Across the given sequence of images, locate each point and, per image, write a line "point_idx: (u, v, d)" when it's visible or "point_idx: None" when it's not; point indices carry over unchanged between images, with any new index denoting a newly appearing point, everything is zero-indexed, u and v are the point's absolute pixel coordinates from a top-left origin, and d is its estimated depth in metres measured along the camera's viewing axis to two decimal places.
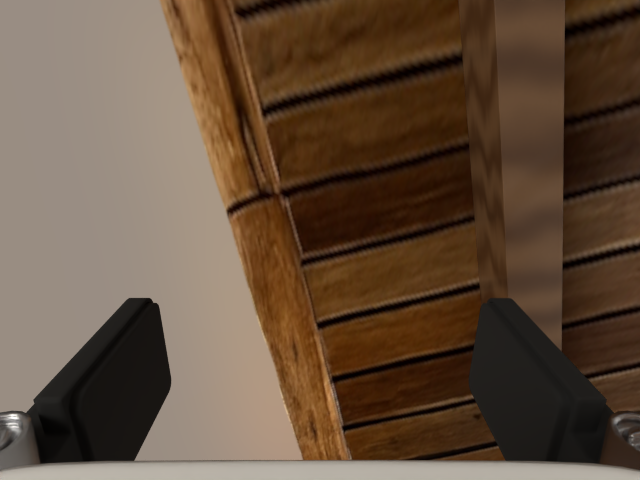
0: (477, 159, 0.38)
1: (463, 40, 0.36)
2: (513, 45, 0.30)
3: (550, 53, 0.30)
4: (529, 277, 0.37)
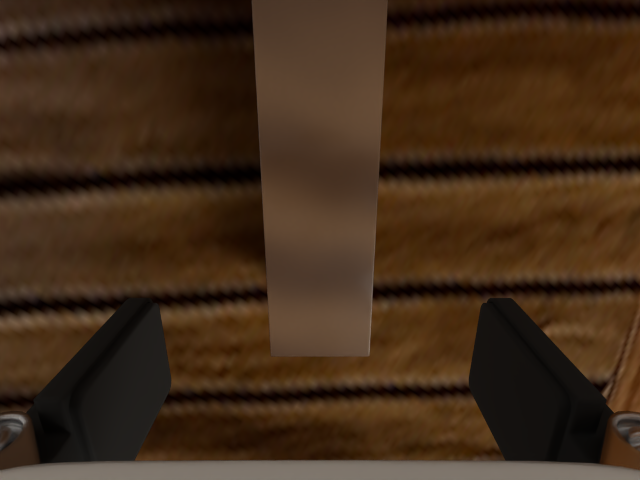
0: None
1: None
2: (349, 204, 0.17)
3: (285, 179, 0.17)
4: None
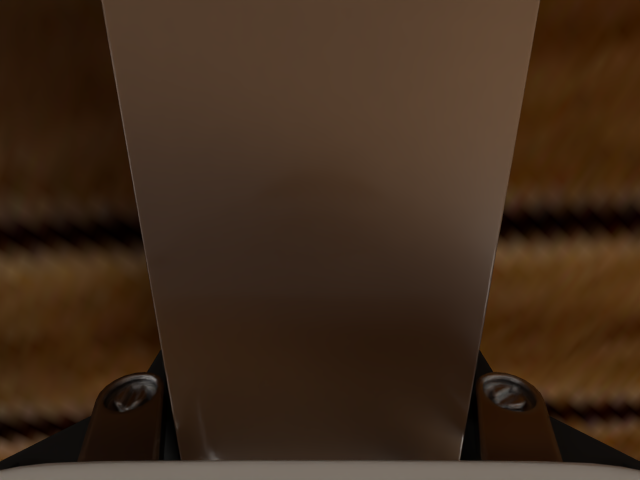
0: None
1: None
2: (399, 378, 0.06)
3: (223, 319, 0.06)
4: None
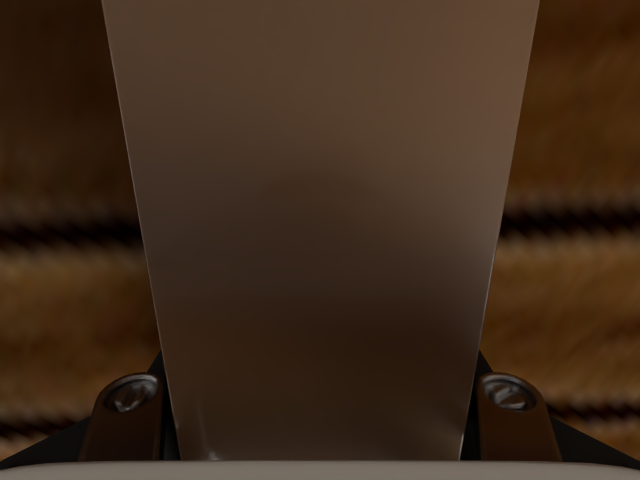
0: None
1: None
2: (399, 377, 0.06)
3: (224, 319, 0.06)
4: None
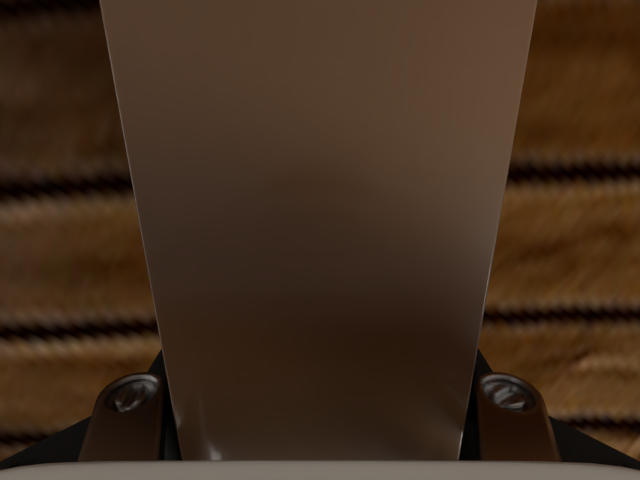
0: None
1: None
2: (398, 378, 0.06)
3: (224, 320, 0.06)
4: None
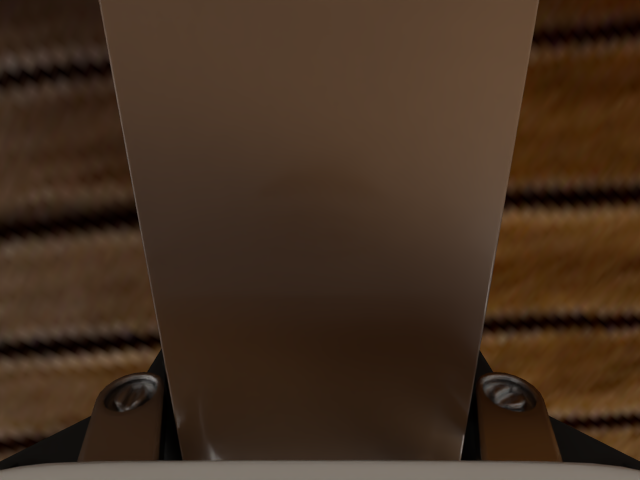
0: None
1: None
2: (400, 379, 0.06)
3: (224, 321, 0.06)
4: None
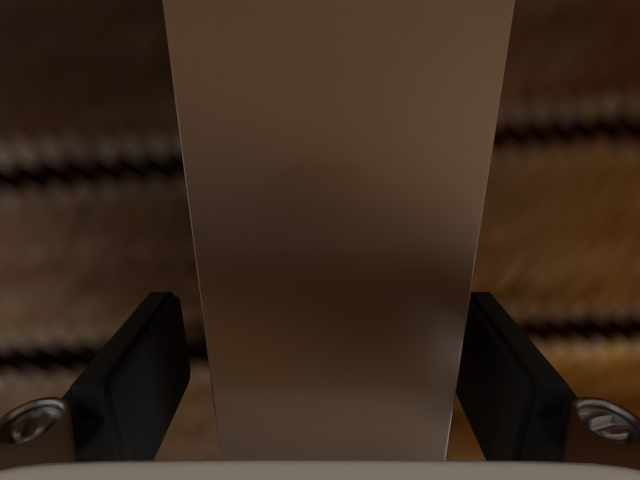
0: None
1: None
2: (400, 353, 0.08)
3: (256, 303, 0.07)
4: None
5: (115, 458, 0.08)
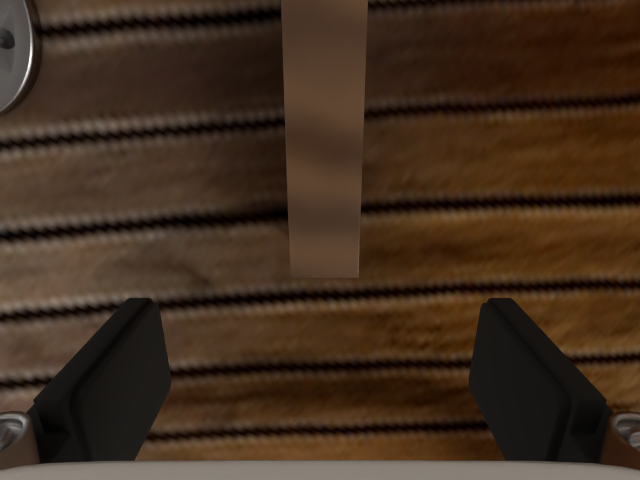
0: None
1: None
2: (343, 169, 0.26)
3: (301, 153, 0.26)
4: None
5: None
